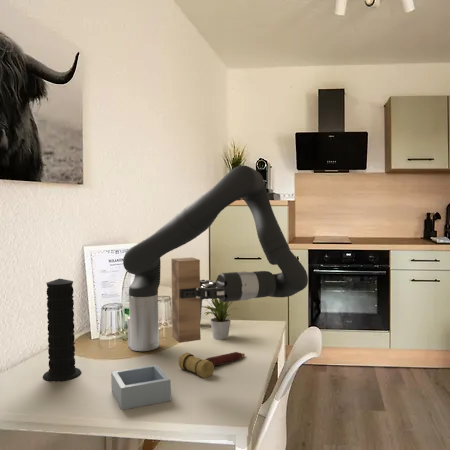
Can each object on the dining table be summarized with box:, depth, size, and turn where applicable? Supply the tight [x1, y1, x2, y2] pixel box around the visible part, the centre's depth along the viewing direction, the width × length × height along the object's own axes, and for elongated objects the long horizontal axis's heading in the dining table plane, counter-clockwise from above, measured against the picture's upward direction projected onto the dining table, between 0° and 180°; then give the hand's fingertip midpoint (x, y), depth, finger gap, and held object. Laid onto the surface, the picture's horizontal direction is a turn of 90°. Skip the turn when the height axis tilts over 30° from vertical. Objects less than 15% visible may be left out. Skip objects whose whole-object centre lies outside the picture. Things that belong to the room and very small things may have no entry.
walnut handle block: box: [170, 256, 202, 344], centre depth 117 cm, size 6×6×20 cm
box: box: [110, 364, 172, 411], centre depth 113 cm, size 12×12×5 cm
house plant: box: [201, 298, 238, 341], centre depth 163 cm, size 14×14×16 cm
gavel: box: [178, 351, 246, 379], centre depth 134 cm, size 21×5×10 cm
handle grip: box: [42, 278, 82, 383], centre depth 127 cm, size 10×26×10 cm
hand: (176, 291), depth 116 cm, fingers closed on walnut handle block, 5 cm apart
